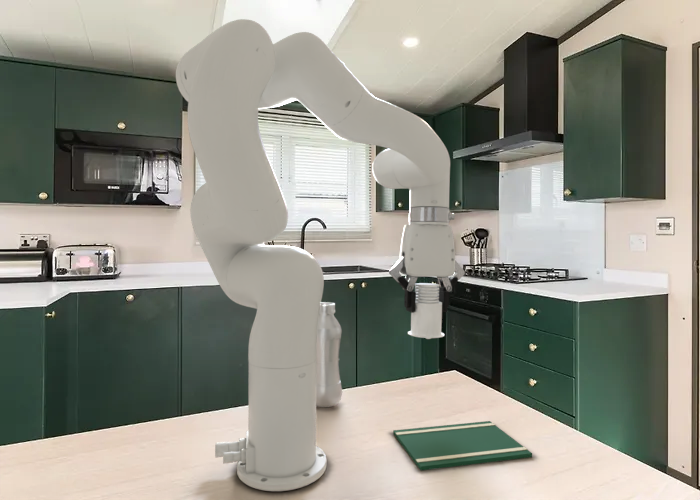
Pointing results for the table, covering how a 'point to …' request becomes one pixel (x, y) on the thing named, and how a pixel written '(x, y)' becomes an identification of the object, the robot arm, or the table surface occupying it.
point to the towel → (459, 445)
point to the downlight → (427, 312)
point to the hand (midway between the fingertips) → (426, 310)
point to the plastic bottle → (328, 357)
